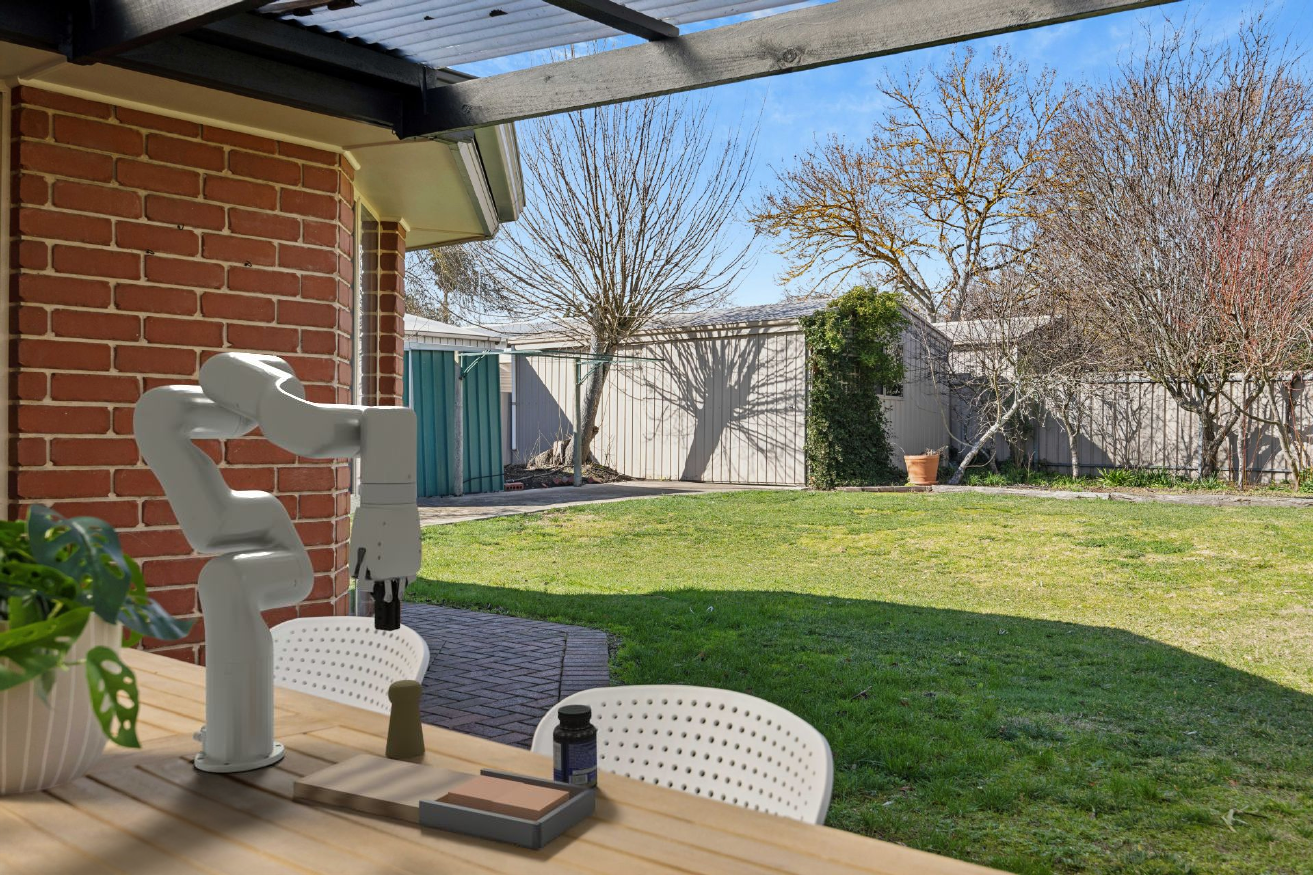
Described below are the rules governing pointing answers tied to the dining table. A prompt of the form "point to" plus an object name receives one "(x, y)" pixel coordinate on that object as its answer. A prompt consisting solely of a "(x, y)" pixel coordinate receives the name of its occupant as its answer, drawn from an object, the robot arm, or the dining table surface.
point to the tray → (507, 826)
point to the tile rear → (481, 792)
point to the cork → (405, 720)
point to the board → (380, 785)
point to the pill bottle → (575, 747)
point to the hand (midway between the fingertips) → (387, 628)
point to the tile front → (529, 802)
